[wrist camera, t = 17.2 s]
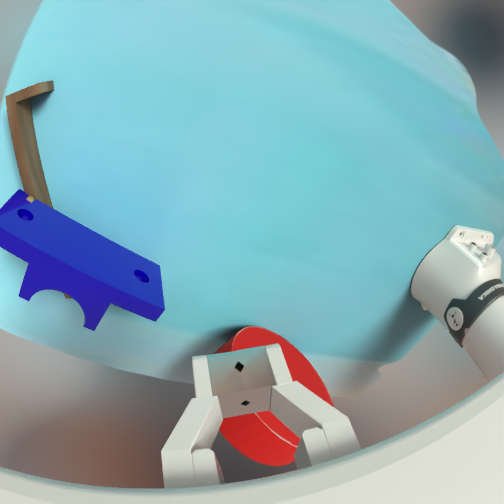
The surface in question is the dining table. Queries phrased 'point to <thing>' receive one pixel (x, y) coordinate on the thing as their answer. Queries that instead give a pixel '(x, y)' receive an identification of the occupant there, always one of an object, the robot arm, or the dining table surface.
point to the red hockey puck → (265, 423)
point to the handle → (28, 142)
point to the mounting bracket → (78, 262)
